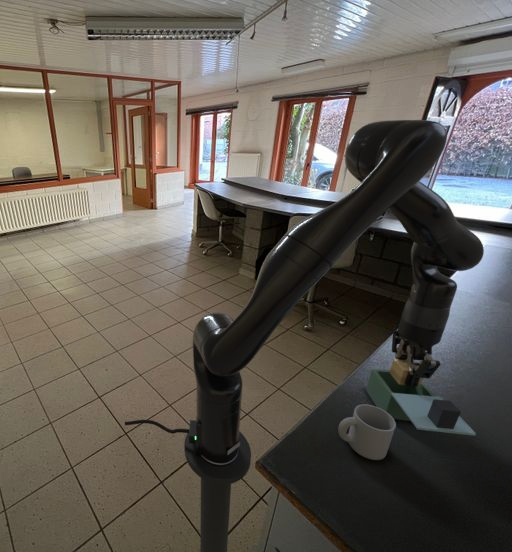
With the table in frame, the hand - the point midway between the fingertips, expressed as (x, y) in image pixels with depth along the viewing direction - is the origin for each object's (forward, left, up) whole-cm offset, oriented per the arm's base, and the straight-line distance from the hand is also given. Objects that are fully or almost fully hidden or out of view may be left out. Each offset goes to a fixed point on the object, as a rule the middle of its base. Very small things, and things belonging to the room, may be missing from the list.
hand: (404, 378), depth 74 cm
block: (0, 0, 0) cm, 0 cm away
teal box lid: (0, -10, -1) cm, 10 cm away
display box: (0, 0, -9) cm, 9 cm away
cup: (-14, -14, -9) cm, 22 cm away
